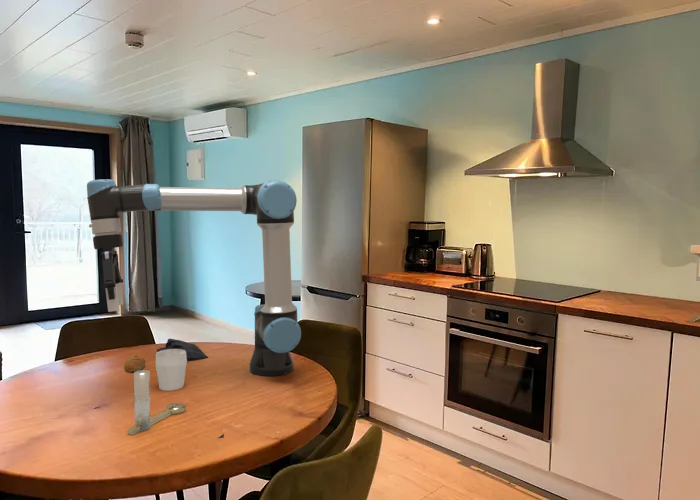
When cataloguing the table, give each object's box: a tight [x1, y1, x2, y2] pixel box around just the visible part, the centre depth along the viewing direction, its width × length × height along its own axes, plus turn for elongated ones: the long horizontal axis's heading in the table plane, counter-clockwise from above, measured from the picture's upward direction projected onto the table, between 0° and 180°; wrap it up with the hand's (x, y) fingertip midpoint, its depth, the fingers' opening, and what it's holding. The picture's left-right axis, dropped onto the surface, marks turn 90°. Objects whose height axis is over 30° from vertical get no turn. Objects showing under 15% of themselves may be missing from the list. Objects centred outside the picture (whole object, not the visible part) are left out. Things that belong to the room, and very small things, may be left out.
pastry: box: [124, 355, 147, 373], centre depth 179 cm, size 9×7×4 cm
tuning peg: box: [127, 369, 186, 436], centre depth 131 cm, size 18×5×14 cm, turn 159°
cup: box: [154, 349, 188, 392], centre depth 156 cm, size 9×9×12 cm
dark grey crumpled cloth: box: [156, 338, 209, 361], centre depth 198 cm, size 15×22×5 cm
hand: (116, 308), depth 148 cm, fingers open, 13 cm apart
